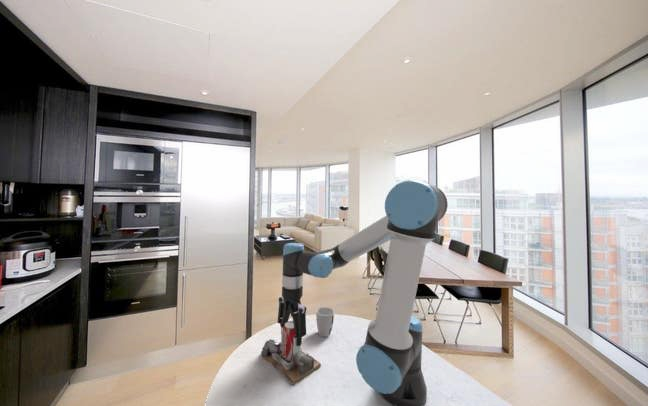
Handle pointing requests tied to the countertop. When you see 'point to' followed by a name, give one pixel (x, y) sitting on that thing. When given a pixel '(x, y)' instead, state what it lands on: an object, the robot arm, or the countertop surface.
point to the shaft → (271, 348)
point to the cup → (324, 320)
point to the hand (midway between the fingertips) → (290, 348)
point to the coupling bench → (294, 365)
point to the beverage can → (288, 341)
